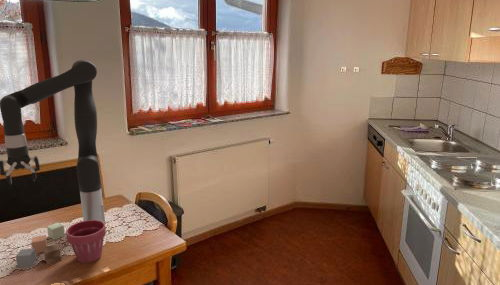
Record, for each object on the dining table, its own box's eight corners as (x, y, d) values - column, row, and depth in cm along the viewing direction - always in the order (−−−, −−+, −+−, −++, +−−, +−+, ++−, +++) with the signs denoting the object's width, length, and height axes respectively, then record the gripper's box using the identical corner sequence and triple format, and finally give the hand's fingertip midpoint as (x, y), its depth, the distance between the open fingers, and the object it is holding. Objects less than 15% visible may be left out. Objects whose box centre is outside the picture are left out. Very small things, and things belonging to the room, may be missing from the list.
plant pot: (86, 270, 147) (82, 239, 144) (61, 260, 154) (57, 231, 151) (115, 253, 159) (112, 224, 156) (92, 244, 166) (88, 216, 163)
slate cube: (36, 259, 155) (34, 248, 154) (32, 266, 150) (30, 255, 149) (22, 261, 154) (21, 249, 153) (17, 268, 150) (15, 256, 148)
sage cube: (59, 232, 177) (58, 222, 176) (65, 235, 174) (63, 225, 173) (48, 236, 174) (46, 226, 172) (53, 240, 171) (52, 229, 169)
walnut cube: (59, 255, 158) (57, 243, 157) (61, 260, 154) (59, 249, 153) (45, 259, 156) (43, 247, 154) (47, 264, 152) (45, 253, 150)
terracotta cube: (47, 245, 166) (45, 234, 165) (46, 251, 162) (45, 240, 160) (33, 248, 164) (32, 237, 163) (33, 253, 160) (31, 242, 158)
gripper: (36, 140, 167) (41, 177, 171) (-3, 144, 162) (3, 182, 166) (35, 144, 161) (41, 182, 165) (-6, 149, 155) (1, 187, 159)
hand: (22, 182), depth 165 cm, fingers open, 8 cm apart
